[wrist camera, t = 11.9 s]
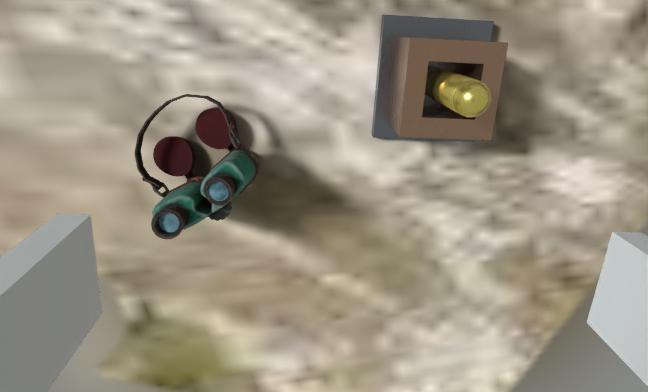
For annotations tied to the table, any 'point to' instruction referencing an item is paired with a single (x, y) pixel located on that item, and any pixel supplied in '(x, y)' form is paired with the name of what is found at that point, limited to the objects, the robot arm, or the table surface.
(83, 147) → the table surface
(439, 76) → the keeper
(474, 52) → the link
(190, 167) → the binoculars
